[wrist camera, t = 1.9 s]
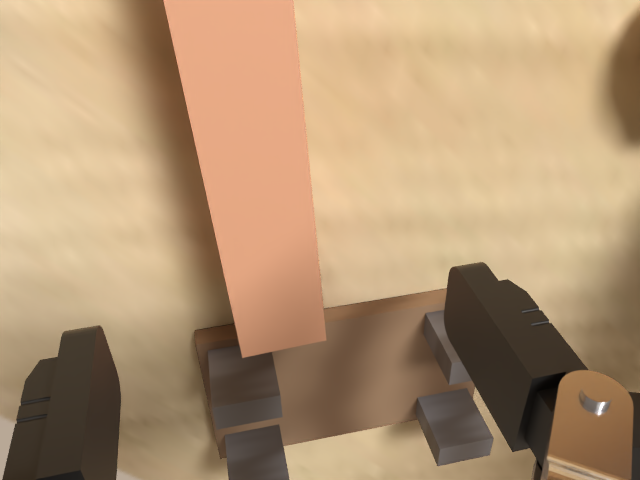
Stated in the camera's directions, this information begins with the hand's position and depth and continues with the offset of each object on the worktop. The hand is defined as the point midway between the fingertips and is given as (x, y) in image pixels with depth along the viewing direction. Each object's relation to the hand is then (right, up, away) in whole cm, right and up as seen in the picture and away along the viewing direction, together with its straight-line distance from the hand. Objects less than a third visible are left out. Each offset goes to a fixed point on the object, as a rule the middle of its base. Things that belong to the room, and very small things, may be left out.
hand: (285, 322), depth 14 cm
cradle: (+2, -5, +19) cm, 20 cm away
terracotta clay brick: (-2, +7, +10) cm, 12 cm away
